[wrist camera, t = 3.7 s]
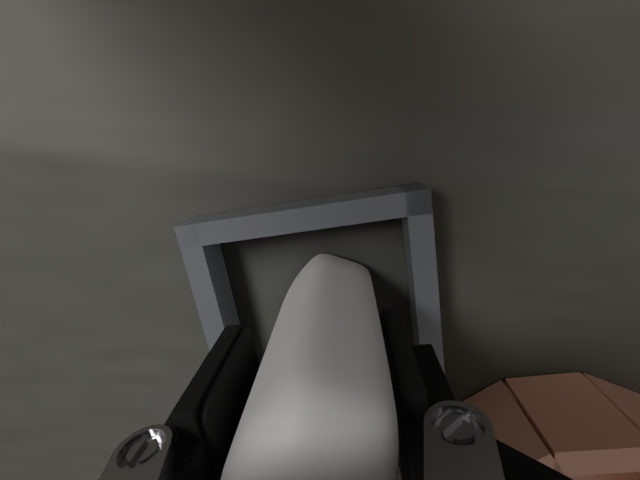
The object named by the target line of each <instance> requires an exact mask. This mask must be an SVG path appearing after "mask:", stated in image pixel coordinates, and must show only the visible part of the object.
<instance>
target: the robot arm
mask: <svg viewBox="0 0 640 480" xmlns="http://www.w3.org/2000/svg"><path fill="white" fill-rule="evenodd" d="M378 314H379V319H380V324H381V329H382V334H383V339H384V344H385V349H386V354H387V360H388V365H389V370H390V376H391V382H392V388H393V394H394V400H395V406H396V413H397V423H398V437H399V467H400V473H401V479H402V480H573V479H571V478H569V477H567V476H566V475H564V474H562V473H560V472H558V471H556V470H554V469H552V468H550V467H548V466H546V465H545V464H543V463H541V462H539V461H537V460H535V459H533V458H531V457H529V456H527V455H526V454H524V453H522V452H520V451H518V450H516V449H514V448H512V447H510V446H508V445H506V444H505V443H503V442H501V441H499V440H497V439H495V435H494V430H493V426H492V424H491V422H490V420H489V418H488V417H487V416H486V415H485V414H484V413H483V411H481V410H480V409H478V408H477V407H475V406H473V405H471V404H468V403H466V402H462V401H456V400H455V398H454V395H453V393H452V391H451V388H450V386H449V384H448V381H447V379H446V377H445V374H444V372H443V370H442V367H441V365H440V363H439V360H438V358H437V356H436V353H435V351H434V349H433V346H432V345H431V344H422V345H411V342H410V339H409V336H408V332H407V329H406V326H405V323H404V320H403V317H402V314H401V311H400V308H399V306H396V307H387V308H382V313H378ZM258 370H259V363H258V359H257V355H256V351H255V346H254V342H253V338H252V334H251V331H250V328H245V326H244V325H243V324H237V325H228V326H226V327H225V328H224V330H223V331H222V333H221V334H220V336H219V337H218V339H217V341H216V342H215V344H214V345H213V347H212V349H211V350H210V352H209V353H208V355H207V357H206V358H205V360H204V361H203V363H202V364H201V366H200V368H199V369H198V371H197V372H196V374H195V376H194V377H193V379H192V380H191V382H190V384H189V385H188V387H187V388H186V390H185V392H184V393H183V395H182V396H181V398H180V399H179V401H178V403H177V404H176V406H175V407H174V409H173V411H172V412H171V414H170V416H169V418H168V419H167V421H166V422H165V424H164V425H161V424H157V425H150V426H148V427H145V428H142V429H140V430H138V431H136V432H134V433H133V434H131V435H130V436H129V437H127V438H126V439H124V440H123V441H122V442H121V443H120V444H119V445H118V446H117V448H116V449H115V451H114V452H113V454H112V455H111V457H110V459H109V461H108V463H107V465H106V467H105V469H104V470H103V472H102V474H101V476H100V478H99V479H98V480H221V476H222V472H223V468H224V465H225V462H226V459H227V456H228V453H229V450H230V447H231V444H232V441H233V439H234V436H235V433H236V430H237V428H238V425H239V422H240V419H241V417H242V414H243V411H244V408H245V405H246V403H247V400H248V397H249V394H250V392H251V389H252V386H253V383H254V381H255V378H256V375H257V372H258Z"/></svg>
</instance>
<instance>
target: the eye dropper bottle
mask: <svg viewBox="0 0 640 480" xmlns="http://www.w3.org/2000/svg"><path fill="white" fill-rule="evenodd" d="M398 465H399V437H398V423H397V413H396V406H395V400H394V394H393V388H392V382H391V376H390V370H389V365H388V360H387V354H386V349H385V344H384V339H383V334H382V329H381V324H380V319H379V314H378V309H377V304H376V299H375V294H374V289H373V284H372V279H371V275H370V273H369V271H368V269H367V268H365V267H364V266H362V265H361V264H358V263H356V262H353V261H350V260H346V259H343V258H340V257H337V256H333V255H330V254H319V255H317V256H315V257H313V258H312V259H311V260H310V261H309V262H308V263H307V264H306V265H305V267H304V268H303V269H302V270H301V271H300V273H299V274H298V275H297V277H296V278H295V280H294V281H293V283H292V285H291V287H290V288H289V290H288V292H287V294H286V297H285V299H284V301H283V304H282V307H281V309H280V312H279V315H278V318H277V320H276V323H275V326H274V329H273V331H272V334H271V337H270V340H269V342H268V345H267V348H266V350H265V353H264V356H263V359H262V361H261V364H260V367H259V370H258V372H257V375H256V378H255V381H254V383H253V386H252V389H251V392H250V394H249V397H248V400H247V403H246V405H245V408H244V411H243V414H242V417H241V419H240V422H239V425H238V428H237V430H236V433H235V436H234V439H233V441H232V444H231V447H230V450H229V453H228V456H227V459H226V462H225V465H224V468H223V472H222V476H221V480H397V477H398Z"/></svg>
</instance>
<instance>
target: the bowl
mask: <svg viewBox="0 0 640 480" xmlns="http://www.w3.org/2000/svg"><path fill="white" fill-rule="evenodd" d="M462 402H466V403H468V404H471V405H473V406H475V407H477V408H478V409H480V410H481V411H483V413H484V414H485V415H486V416H487V417H488V418H489V420H490V422H491V424H492V426H493V430H494V435H495V439H497V440H499V441H501V442H503V443H505V444H506V445H508V446H510V447H512V448H514V449H516V450H518V451H520V452H522V453H524V454H526V455H527V456H529V457H531V458H533V459H535V460H537V461H539V462H541V463H543V464H545V465H546V466H548V467H550V468H552V469H554V470H556V471H558V472H560V473H562V474H564V475H566V476H567V477H569V478H571V479H573V480H640V394H639V393H637V392H634V391H631V390H629V389H626V388H623V387H621V386H618V385H615V384H613V383H610V382H607V381H605V380H602V379H599V378H597V377H594V376H592V375H589V374H586V373H584V372H583V373H582V374H581V373H580V372H573V373H561V374H550V375H539V376H527V377H516V378H505V382H503V381H502V380H500V381H498V382H496V383H494V384H493V385H491V386H489V387H487V388H485V389H484V390H482V391H480V392H478V393H476V394H475V395H473V396H471V397H469V398H467V399H466V400H464V401H462Z"/></svg>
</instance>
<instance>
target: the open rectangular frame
mask: <svg viewBox="0 0 640 480" xmlns="http://www.w3.org/2000/svg"><path fill="white" fill-rule="evenodd" d="M396 218H401V220H402V230H403V240H404V250H405V260H406V270H407V280H408V290H409V300H410V310H411V320H412V330H413V340H414V345H422V344H431V345H432V346H433V349H434V351H435V353H436V356H437V358H438V360H439V363H440V365H441V367H442V370H443V372H444V374H445V369H444V356H443V342H442V329H441V315H440V301H439V288H438V274H437V260H436V247H435V233H434V220H433V206H432V192H431V188H430V187H428V186H426V185H424V184H422V183H415V184H408V185H402V186H395V187H389V188H382V189H375V190H369V191H362V192H356V193H349V194H342V195H336V196H329V197H323V198H316V199H309V200H303V201H296V202H290V203H283V204H277V205H270V206H263V207H257V208H250V209H244V210H237V211H230V212H224V213H217V214H211V215H204V216H197V217H192V218H190V219H188V220H186V221H184V222H182V223H180V224H178V225H177V226H175V227H174V229H175V233H176V236H177V240H178V243H179V247H180V250H181V254H182V257H183V261H184V264H185V267H186V271H187V274H188V278H189V281H190V285H191V288H192V292H193V295H194V299H195V302H196V306H197V309H198V313H199V316H200V319H201V323H202V326H203V330H204V333H205V337H206V340H207V344H208V347H209V351H210V350H211V349H212V347H213V345H214V344H215V342H216V341H217V339H218V337H219V336H220V334H221V333H222V331H223V330H224V328H225V327H226V326H228V325H237V324H240V321H239V317H238V313H237V309H236V306H235V302H234V298H233V294H232V290H231V286H230V282H229V278H228V274H227V270H226V266H225V262H224V258H223V254H222V250H221V246H220V243H226V242H233V241H240V240H248V239H255V238H262V237H269V236H276V235H283V234H290V233H297V232H304V231H311V230H318V229H325V228H332V227H339V226H346V225H353V224H360V223H368V222H375V221H382V220H389V219H396Z"/></svg>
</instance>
